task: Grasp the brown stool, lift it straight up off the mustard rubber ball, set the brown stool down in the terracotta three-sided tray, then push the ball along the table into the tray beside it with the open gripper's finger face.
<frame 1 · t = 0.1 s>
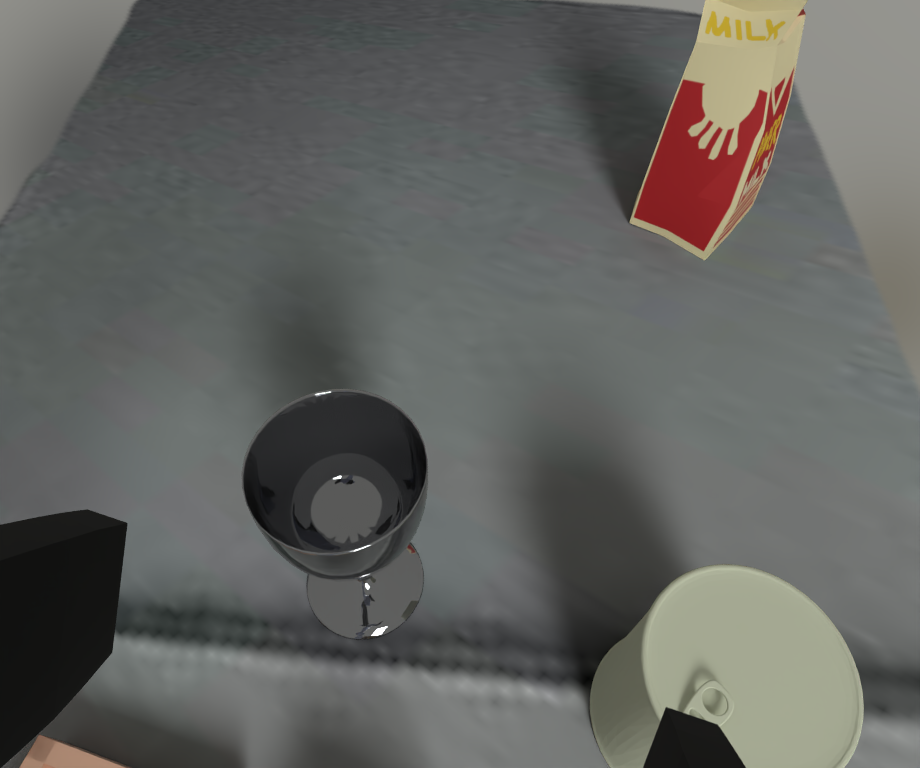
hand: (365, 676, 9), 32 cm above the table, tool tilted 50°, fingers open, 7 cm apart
wine glass: (365, 580, 42), on the table
can: (671, 715, 38), on the table
milk carton: (683, 213, 62), on the table
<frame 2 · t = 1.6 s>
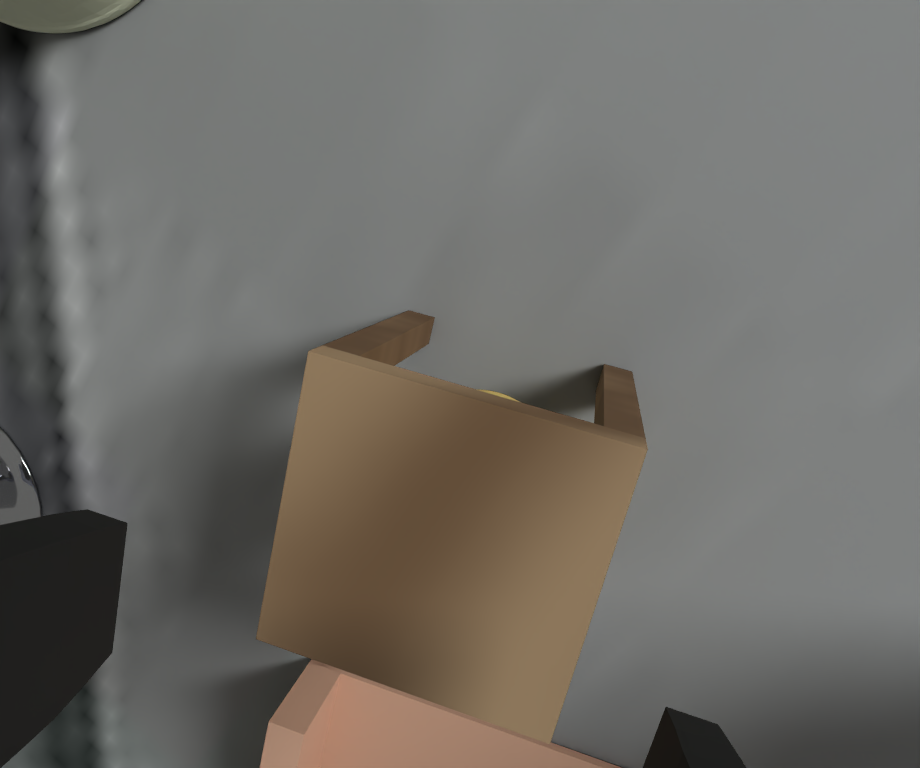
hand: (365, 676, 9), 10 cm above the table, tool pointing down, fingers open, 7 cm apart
brown stool: (489, 446, 18), on the table
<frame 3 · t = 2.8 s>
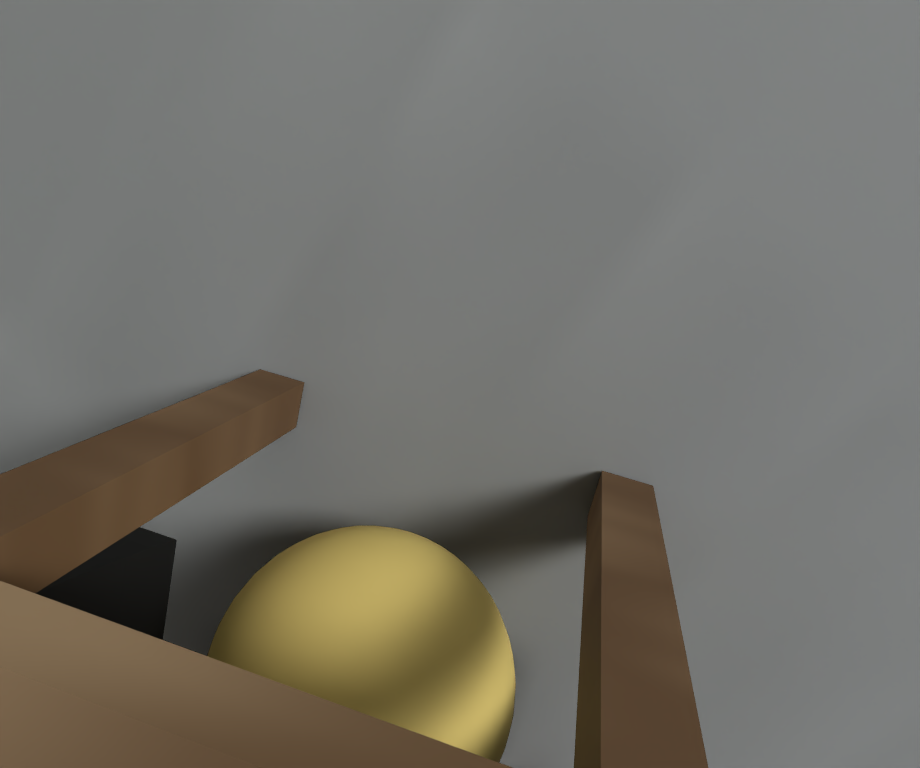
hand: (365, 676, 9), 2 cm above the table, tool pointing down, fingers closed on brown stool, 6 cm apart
brown stool: (404, 601, 10), on the table, touching gripper
ball: (405, 601, 10), on the table
when the fingers open (3 cm above the table, at t = 6.9 s): brown stool stays where it is, resting on tray.
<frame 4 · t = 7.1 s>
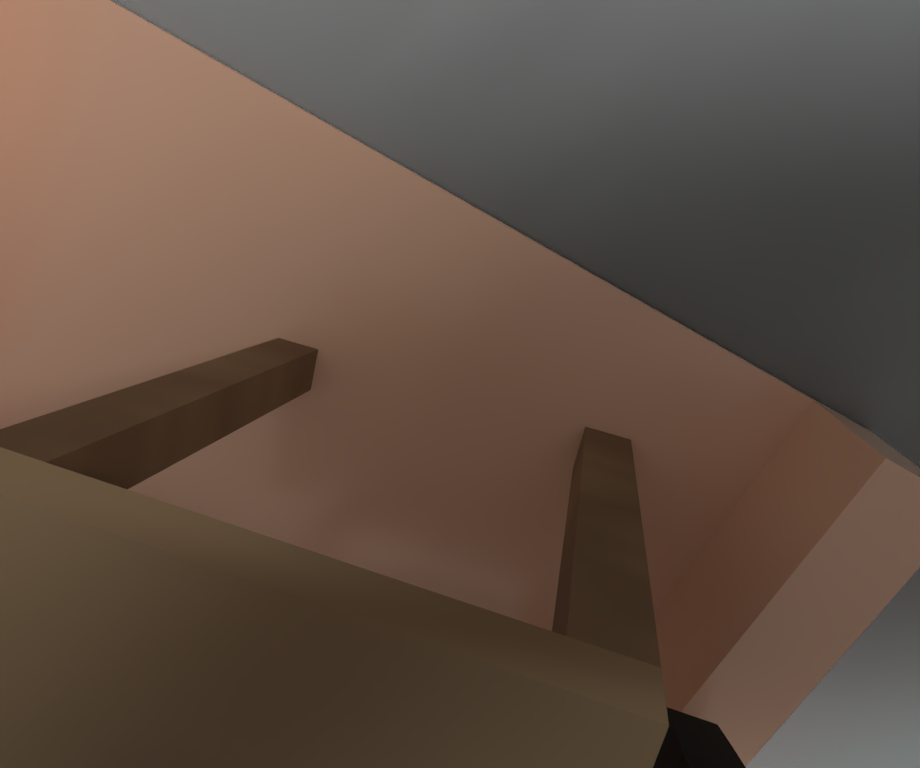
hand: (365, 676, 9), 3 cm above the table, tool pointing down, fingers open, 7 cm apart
tray: (256, 454, 12), on the table
brown stool: (408, 548, 11), resting on tray
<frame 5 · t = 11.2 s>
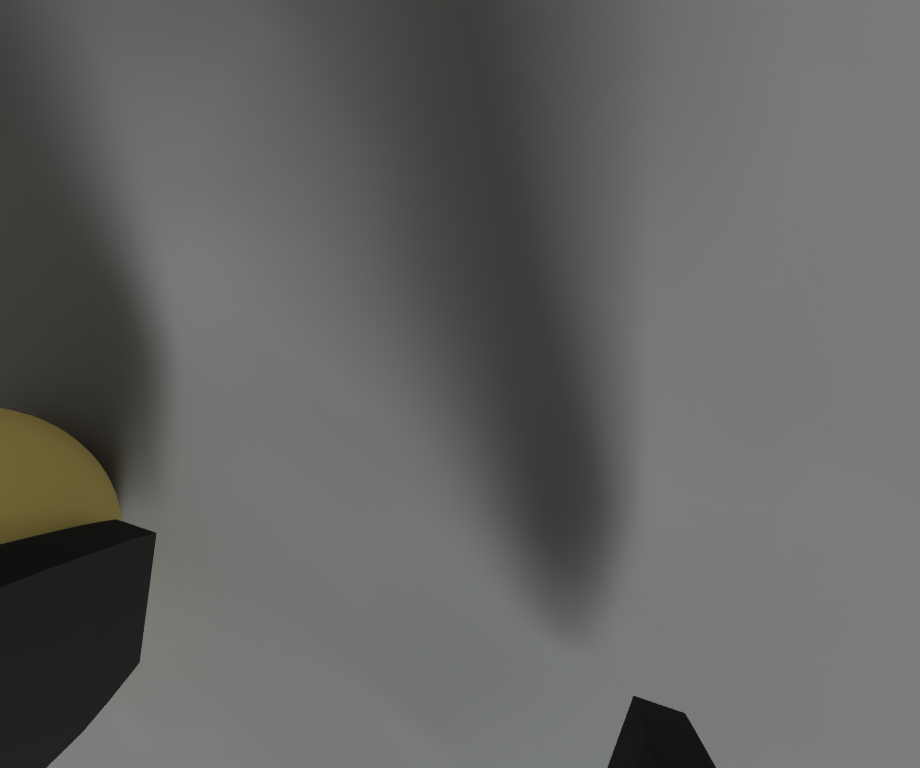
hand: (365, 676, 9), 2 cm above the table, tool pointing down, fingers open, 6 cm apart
ball: (77, 496, 11), on the table, touching gripper
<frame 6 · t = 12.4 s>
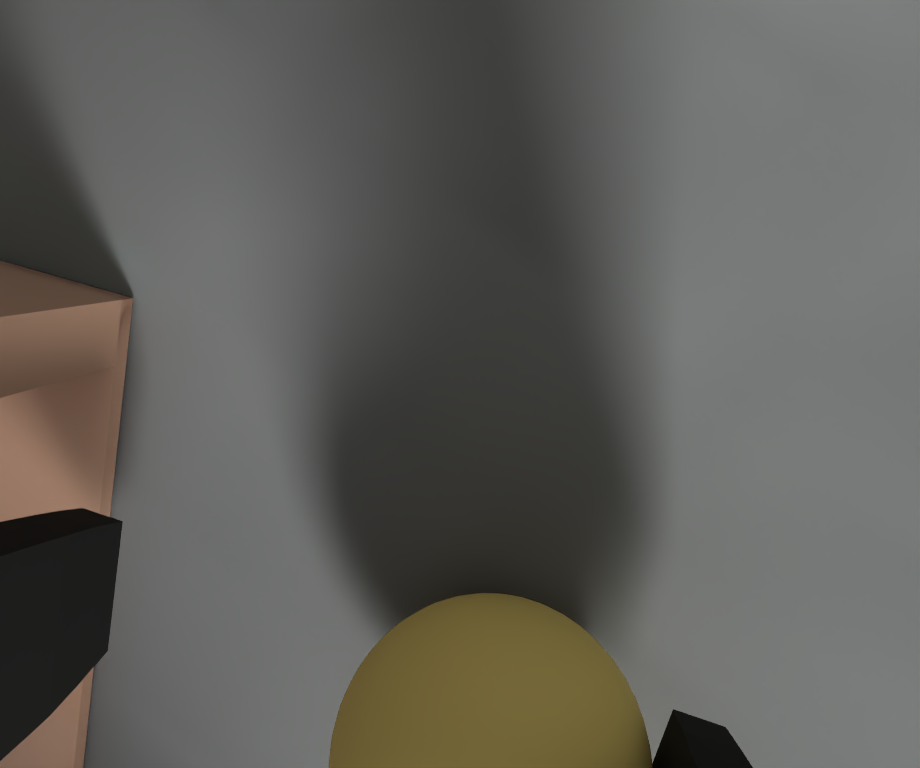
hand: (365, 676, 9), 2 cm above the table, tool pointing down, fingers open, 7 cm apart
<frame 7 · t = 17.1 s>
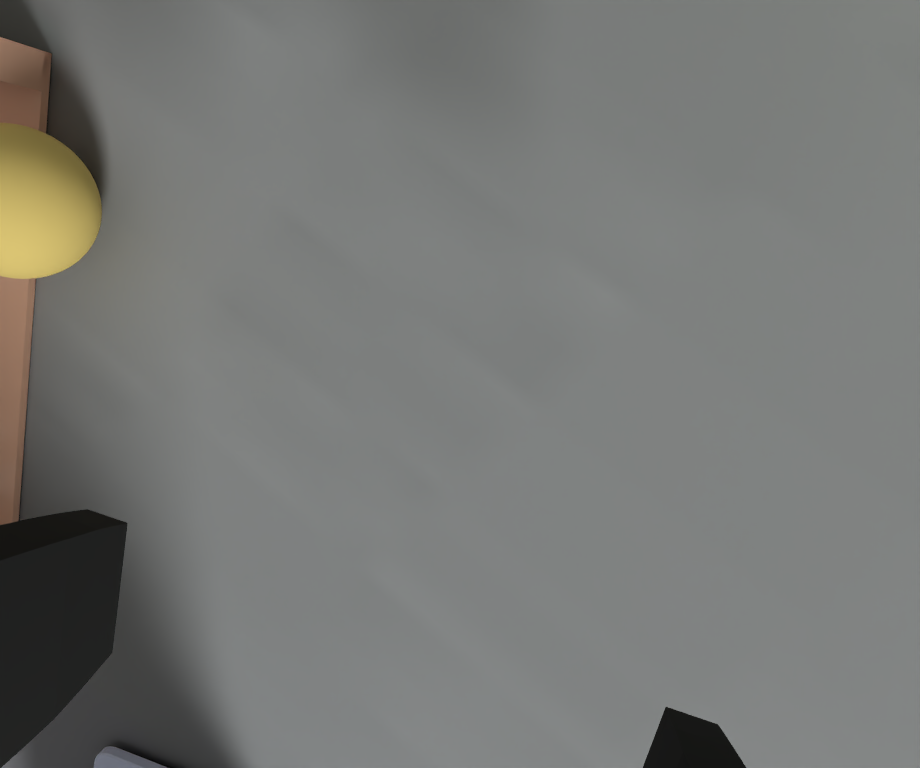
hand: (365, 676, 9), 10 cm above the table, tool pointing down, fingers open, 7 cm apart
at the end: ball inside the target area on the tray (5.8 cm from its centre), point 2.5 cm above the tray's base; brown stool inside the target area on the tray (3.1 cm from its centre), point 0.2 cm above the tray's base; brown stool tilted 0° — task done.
